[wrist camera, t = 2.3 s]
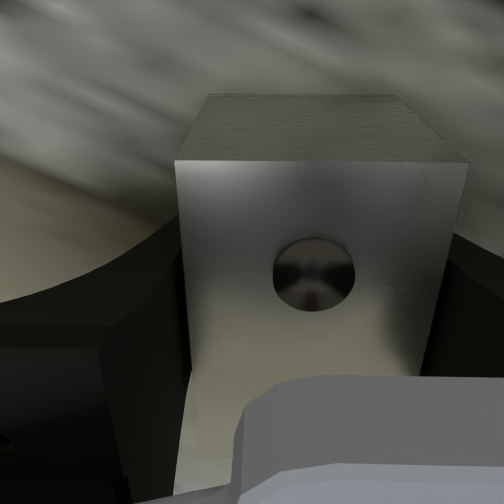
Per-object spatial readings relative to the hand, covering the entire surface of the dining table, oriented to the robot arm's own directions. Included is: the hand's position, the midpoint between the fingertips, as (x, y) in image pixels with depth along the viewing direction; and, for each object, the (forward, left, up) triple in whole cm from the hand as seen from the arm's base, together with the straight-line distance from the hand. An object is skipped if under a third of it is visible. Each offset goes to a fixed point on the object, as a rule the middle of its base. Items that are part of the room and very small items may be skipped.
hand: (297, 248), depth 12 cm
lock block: (0, 0, -2) cm, 2 cm away
